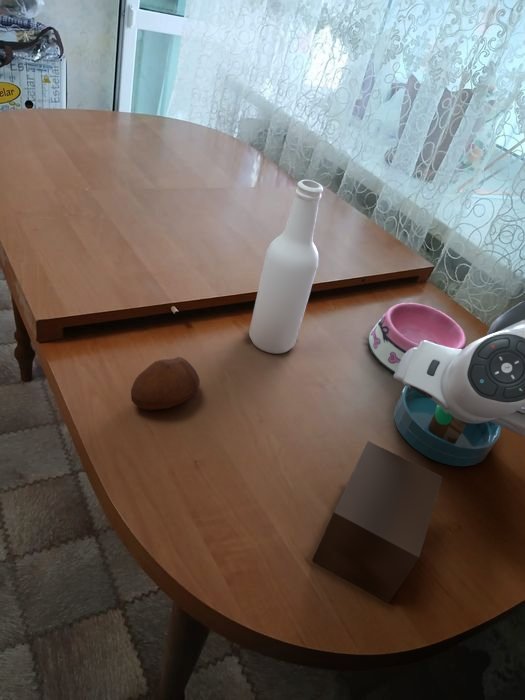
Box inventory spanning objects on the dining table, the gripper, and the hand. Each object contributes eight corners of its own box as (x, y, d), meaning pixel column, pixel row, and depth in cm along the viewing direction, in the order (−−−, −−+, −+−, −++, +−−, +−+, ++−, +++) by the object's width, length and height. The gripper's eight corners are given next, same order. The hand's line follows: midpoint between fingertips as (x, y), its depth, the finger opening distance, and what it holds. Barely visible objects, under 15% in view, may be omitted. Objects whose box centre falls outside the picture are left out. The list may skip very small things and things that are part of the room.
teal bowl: (493, 422, 94) (505, 403, 91) (481, 484, 82) (494, 465, 79) (406, 383, 98) (415, 364, 95) (381, 437, 86) (391, 417, 83)
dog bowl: (472, 392, 99) (488, 364, 95) (374, 377, 97) (387, 347, 93) (446, 333, 114) (460, 306, 110) (361, 318, 112) (371, 290, 108)
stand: (413, 523, 74) (442, 476, 68) (388, 603, 64) (419, 557, 58) (346, 488, 76) (368, 440, 70) (311, 560, 66) (333, 512, 60)
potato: (211, 399, 85) (218, 361, 80) (152, 433, 77) (156, 393, 72) (179, 373, 88) (183, 334, 83) (120, 403, 81) (121, 362, 76)
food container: (436, 400, 95) (460, 356, 89) (470, 418, 93) (496, 374, 87) (410, 437, 86) (434, 391, 80) (445, 458, 84) (473, 413, 78)
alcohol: (238, 332, 100) (270, 174, 82) (275, 321, 105) (313, 170, 87) (267, 360, 95) (307, 199, 77) (304, 348, 100) (350, 194, 82)
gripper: (567, 401, 67) (533, 411, 81) (411, 334, 72) (403, 354, 86) (547, 447, 67) (516, 449, 80) (391, 377, 72) (387, 390, 85)
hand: (457, 400), depth 83 cm, fingers open, 8 cm apart
